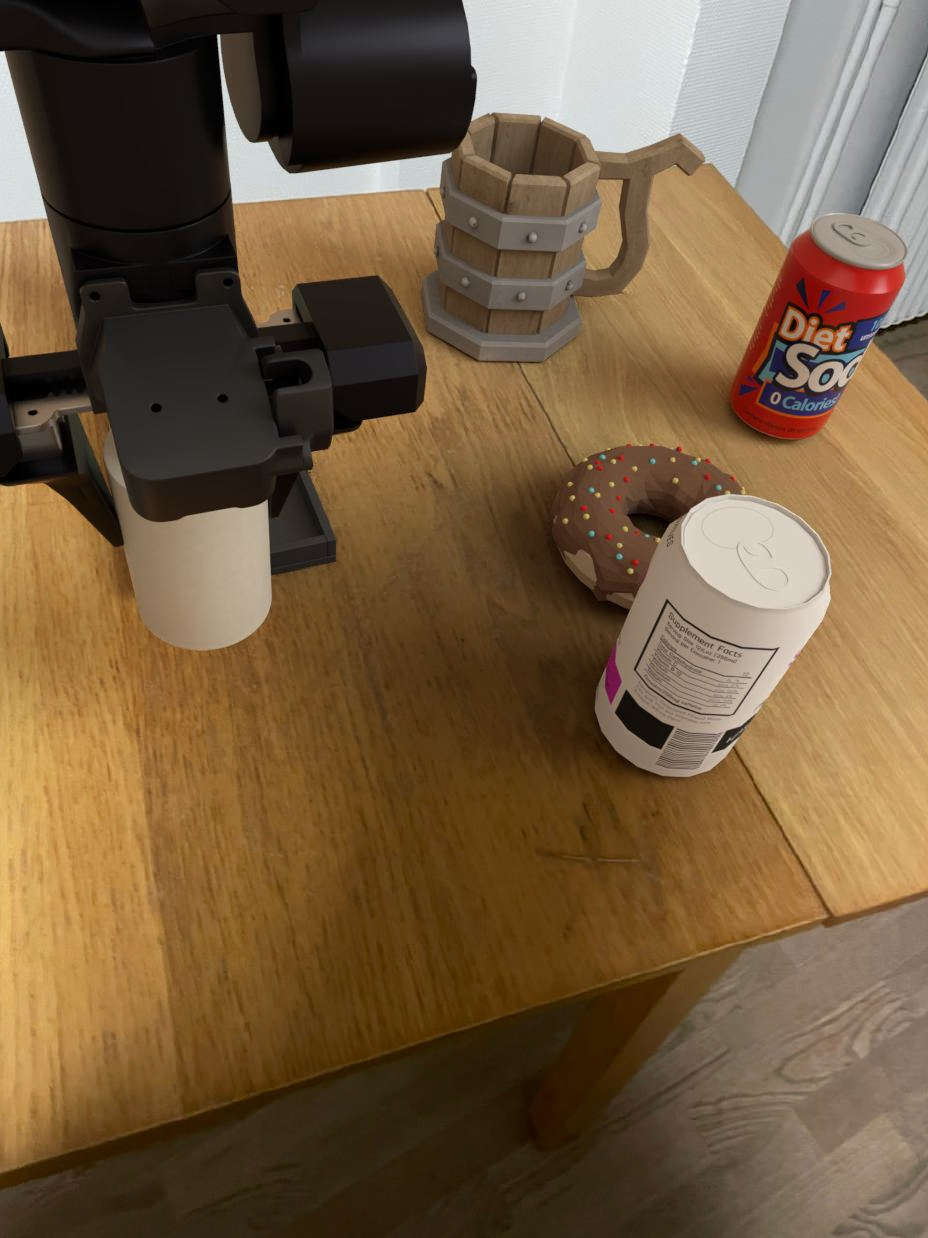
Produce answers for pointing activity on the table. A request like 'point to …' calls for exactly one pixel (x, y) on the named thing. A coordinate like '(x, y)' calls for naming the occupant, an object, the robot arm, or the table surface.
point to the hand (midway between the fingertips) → (196, 525)
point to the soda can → (817, 324)
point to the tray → (300, 530)
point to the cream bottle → (195, 568)
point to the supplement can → (711, 632)
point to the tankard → (533, 233)
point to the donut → (626, 512)
